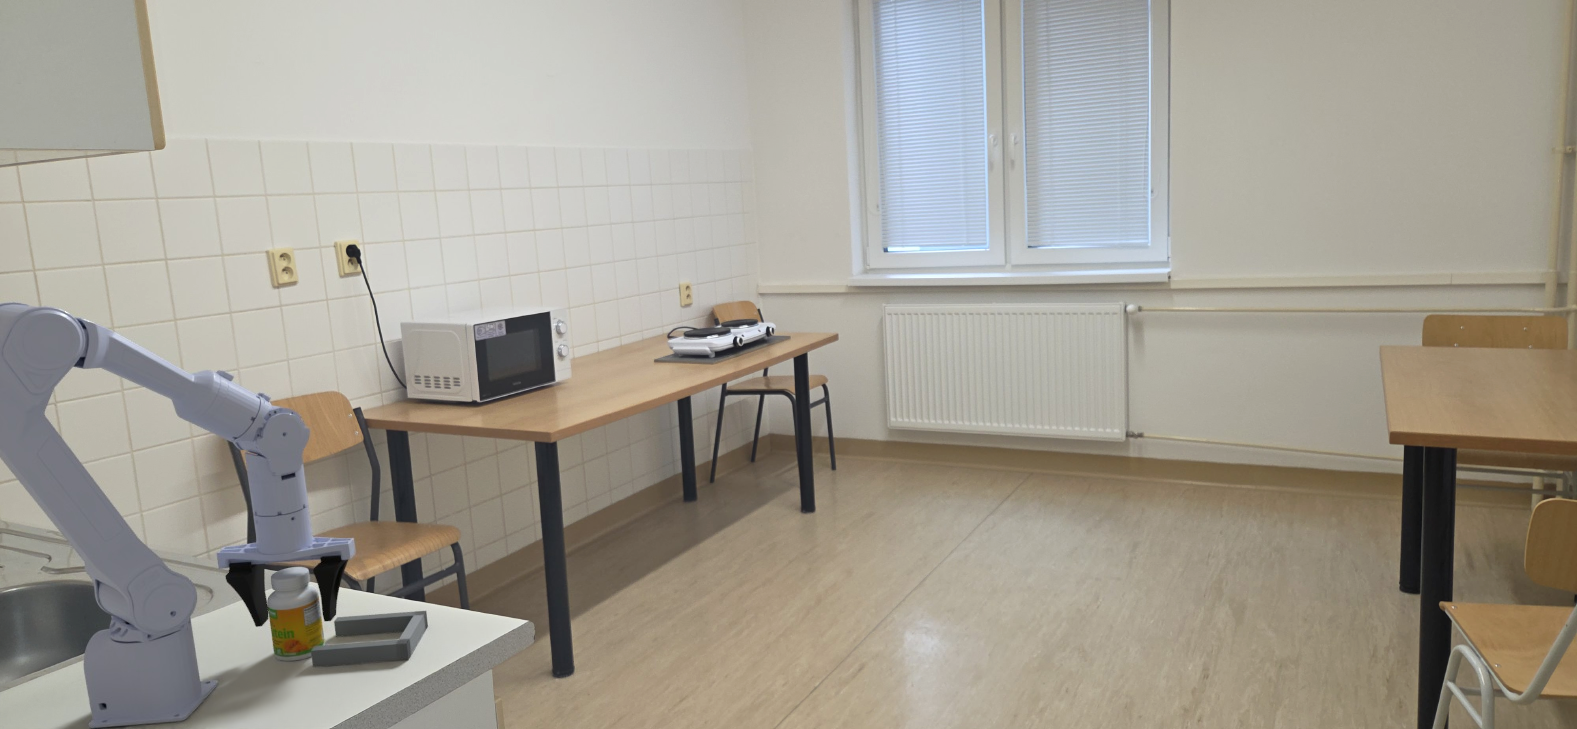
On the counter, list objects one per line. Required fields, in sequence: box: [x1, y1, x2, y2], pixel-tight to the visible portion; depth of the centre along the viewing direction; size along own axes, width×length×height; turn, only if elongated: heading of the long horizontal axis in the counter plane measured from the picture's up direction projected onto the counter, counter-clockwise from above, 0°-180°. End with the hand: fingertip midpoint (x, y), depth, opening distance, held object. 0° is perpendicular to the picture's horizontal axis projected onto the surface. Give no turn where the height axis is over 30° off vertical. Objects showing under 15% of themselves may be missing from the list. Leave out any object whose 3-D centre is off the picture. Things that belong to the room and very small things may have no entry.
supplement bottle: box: [267, 566, 326, 662], centre depth 119 cm, size 5×5×10 cm
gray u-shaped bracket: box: [311, 610, 429, 668], centre depth 121 cm, size 10×9×2 cm
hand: (296, 620), depth 120 cm, fingers open, 7 cm apart
